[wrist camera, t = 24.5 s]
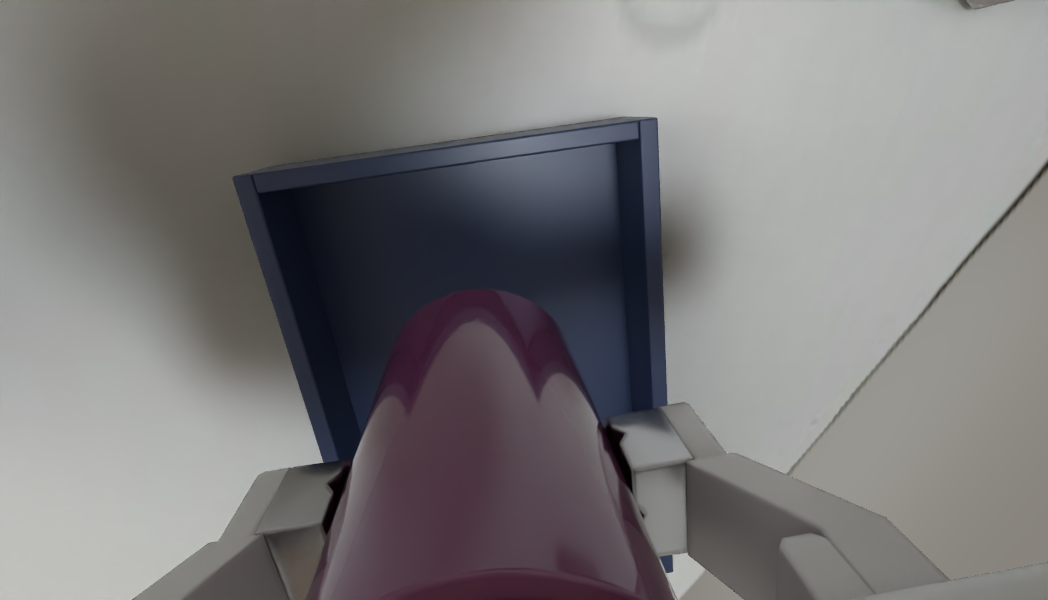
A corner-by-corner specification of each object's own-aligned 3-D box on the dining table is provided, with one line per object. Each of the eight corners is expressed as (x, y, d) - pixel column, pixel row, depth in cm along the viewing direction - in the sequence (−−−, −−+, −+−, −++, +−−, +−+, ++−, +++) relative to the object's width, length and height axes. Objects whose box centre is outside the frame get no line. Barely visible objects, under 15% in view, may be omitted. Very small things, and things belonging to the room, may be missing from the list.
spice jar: (408, 466, 14) (302, 1052, 5) (367, 304, 12) (114, 762, 3) (581, 437, 14) (755, 954, 5) (563, 274, 12) (772, 638, 4)
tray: (388, 560, 25) (375, 627, 22) (272, 165, 19) (230, 177, 15) (647, 514, 26) (673, 572, 23) (626, 116, 19) (658, 117, 16)
